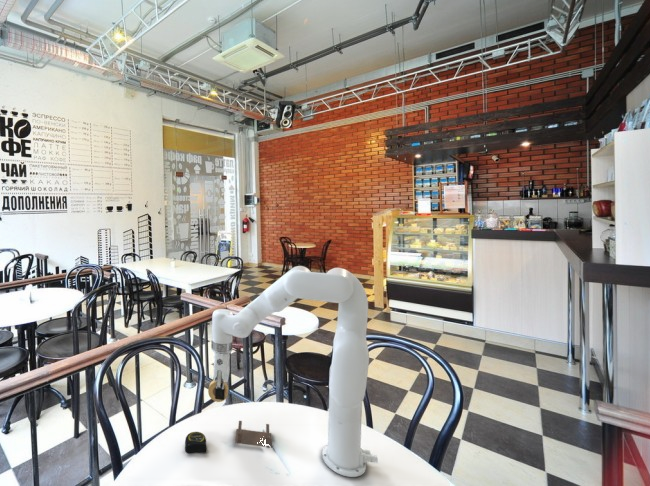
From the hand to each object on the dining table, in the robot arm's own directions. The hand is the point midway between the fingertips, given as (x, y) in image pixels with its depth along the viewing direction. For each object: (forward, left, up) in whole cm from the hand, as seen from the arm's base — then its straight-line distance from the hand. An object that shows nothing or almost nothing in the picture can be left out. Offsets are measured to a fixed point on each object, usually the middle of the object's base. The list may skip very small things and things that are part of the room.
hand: (220, 395), depth 117 cm
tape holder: (-12, +5, -11) cm, 17 cm away
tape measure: (+6, +13, -11) cm, 18 cm away
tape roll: (0, 0, -1) cm, 1 cm away
